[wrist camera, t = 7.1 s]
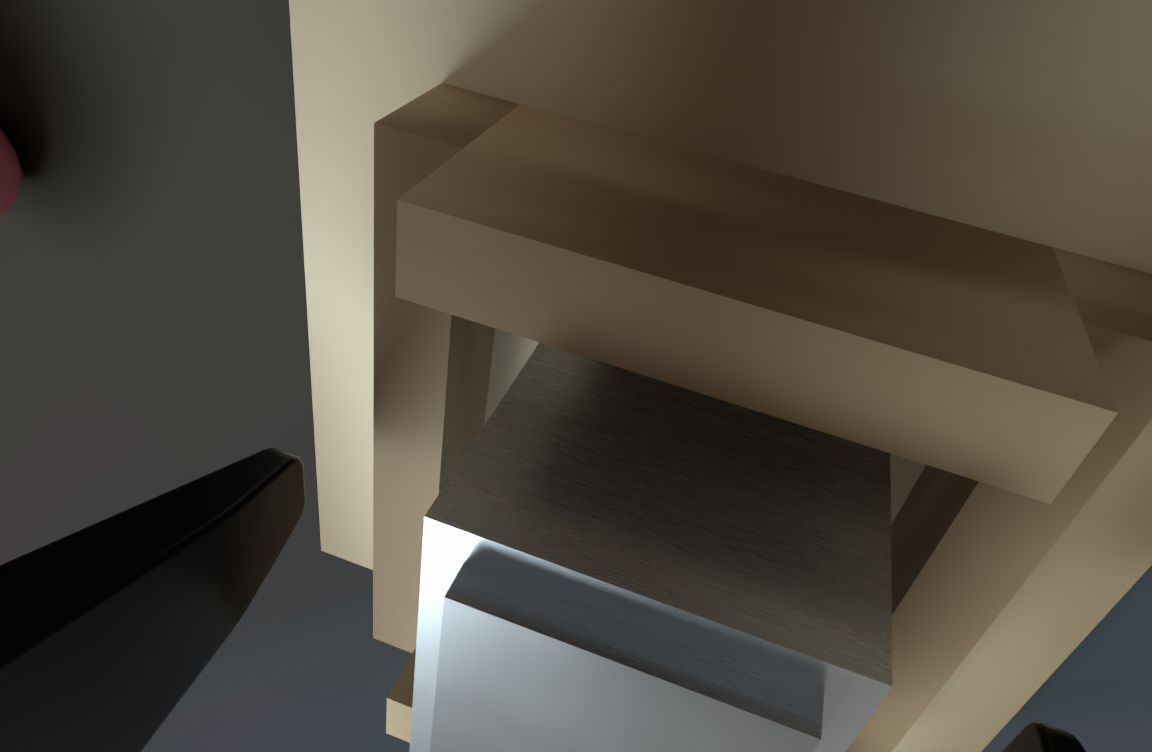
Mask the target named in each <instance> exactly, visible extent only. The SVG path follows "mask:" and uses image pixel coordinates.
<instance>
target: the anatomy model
mask: <svg viewBox="0 0 1152 752" xmlns="http://www.w3.org/2000/svg"><path fill="white" fill-rule="evenodd" d="M23 175H24V174H23V171H22V168H21V166H20V163H19V160H18V158H17V155H16V152H15V150H14V148H13V146H12V145H11V143H10V141H9V139H8V137H7V136H6V135H5V133H4V132H3V131H2V130H1V129H0V216H1V215H2V214H3V213H5V212H6V211H7V210H8V209H9V208H10V207H11V205H12V204H13V203H14V201H15V200H16V199H17V195H18V192H19V189H20V185H21V182H22V179H23Z"/></svg>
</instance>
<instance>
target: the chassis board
mask: <svg viewBox="0 0 1152 752" xmlns="http://www.w3.org/2000/svg"><path fill="white" fill-rule="evenodd" d="M289 9H290V26H291V43H292V60H293V77H294V94H295V111H296V128H297V145H298V162H299V179H300V196H301V213H302V230H303V247H304V264H305V281H306V299H307V316H308V333H309V350H310V367H311V384H312V401H313V418H314V435H315V452H316V469H317V486H318V503H319V520H320V537H321V551H324V552H326V553H329V554H332V555H334V556H337V557H340V558H342V559H345V560H348V561H350V562H353V563H356V564H358V565H361V566H364V567H366V568H369V569H372V570H373V638H375V639H377V640H380V641H382V642H385V643H388V644H390V645H393V646H395V647H398V648H400V649H403V650H406V651H408V652H411V653H412V655H411V656H410V658H409V660H408V662H407V664H406V665H405V667H404V669H403V671H402V672H401V674H400V676H399V678H398V679H397V681H396V683H395V685H394V686H393V688H392V690H391V692H390V694H389V695H388V697H387V720H386V733H387V734H390V735H392V736H395V737H397V738H400V739H402V740H404V741H407V742H409V743H410V736H411V720H412V704H413V688H414V672H415V656H416V640H417V624H418V608H419V592H420V576H421V560H422V544H423V528H424V516H425V515H426V513H427V512H428V510H429V508H430V507H431V505H432V504H433V502H434V501H435V499H436V498H437V496H438V495H439V493H440V492H441V490H442V489H443V487H444V486H445V484H446V483H447V481H448V480H449V478H450V477H451V475H452V474H453V472H454V471H455V469H456V468H457V466H458V465H459V463H460V462H461V460H462V459H463V457H464V456H465V454H466V453H467V451H468V450H469V448H470V447H471V445H472V444H473V442H474V440H475V439H476V437H477V436H478V434H479V433H480V431H481V430H482V428H483V427H484V425H485V424H486V422H487V421H488V419H489V418H490V416H491V415H492V413H493V412H494V410H495V409H496V407H497V406H498V404H499V403H500V401H501V400H502V398H503V397H504V395H505V394H506V392H507V391H508V389H509V388H510V386H511V385H512V383H513V382H514V380H515V379H516V377H517V376H518V374H519V372H520V371H521V369H522V368H523V366H524V365H525V363H526V362H527V360H528V359H529V357H530V356H531V354H532V353H533V351H534V350H535V348H536V347H537V345H538V344H539V342H540V343H543V344H546V345H549V346H553V347H556V348H559V349H562V350H565V351H568V352H572V353H575V354H578V355H581V356H584V357H587V358H590V359H594V360H597V361H600V362H603V363H606V364H609V365H613V366H616V367H619V368H622V369H625V370H628V371H632V372H635V373H638V374H641V375H644V376H647V377H651V378H654V379H657V380H660V381H663V382H666V383H670V384H673V385H676V386H679V387H682V388H685V389H688V390H692V391H695V392H698V393H701V394H704V395H707V396H711V397H714V398H717V399H720V400H723V401H726V402H730V403H733V404H736V405H739V406H742V407H745V408H749V409H752V410H755V411H758V412H761V413H764V414H768V415H771V416H774V417H777V418H780V419H783V420H787V421H790V422H793V423H796V424H799V425H802V426H805V427H809V428H812V429H815V430H818V431H821V432H824V433H828V434H831V435H834V436H837V437H840V438H843V439H847V440H850V441H853V442H856V443H859V444H862V445H866V446H869V447H872V448H875V449H878V450H881V451H885V452H888V453H890V475H891V582H892V688H891V689H890V691H889V692H888V693H887V695H886V696H885V698H884V699H883V700H882V702H881V703H880V705H879V706H878V707H877V709H876V710H875V711H874V713H873V714H872V716H871V717H870V718H869V720H868V721H867V723H866V724H865V725H864V727H863V728H862V730H861V731H860V732H859V734H858V735H857V736H856V738H855V739H854V741H853V742H852V743H851V745H850V746H849V748H848V749H847V750H846V752H981V751H982V750H983V749H984V748H985V747H986V746H987V745H988V744H989V742H990V741H991V740H992V739H993V738H994V737H995V736H996V735H997V734H998V733H999V731H1000V730H1001V729H1002V728H1003V727H1004V726H1005V725H1006V724H1007V723H1008V722H1009V721H1010V719H1011V718H1012V717H1013V716H1014V715H1015V714H1016V713H1017V712H1018V711H1019V710H1020V708H1021V707H1022V706H1023V705H1024V704H1025V703H1026V702H1027V701H1028V700H1029V699H1030V698H1031V696H1032V695H1033V694H1034V693H1035V692H1036V691H1037V690H1038V689H1039V688H1040V687H1041V686H1042V684H1043V683H1044V682H1045V681H1046V680H1047V679H1048V678H1049V677H1050V676H1051V675H1052V673H1053V672H1054V671H1055V670H1056V669H1057V668H1058V667H1059V666H1060V665H1061V664H1062V663H1063V661H1064V660H1065V659H1066V658H1067V657H1068V656H1069V655H1070V654H1071V653H1072V652H1073V650H1074V649H1075V648H1076V647H1077V646H1078V645H1079V644H1080V643H1081V642H1082V641H1083V640H1084V638H1085V637H1086V636H1087V635H1088V634H1089V633H1090V632H1091V631H1092V630H1093V629H1094V627H1095V626H1096V625H1097V624H1098V623H1099V622H1100V621H1101V620H1102V619H1103V618H1104V617H1105V615H1106V614H1107V613H1108V612H1109V611H1110V610H1111V609H1112V608H1113V607H1114V606H1115V605H1116V603H1117V602H1118V601H1119V600H1120V599H1121V598H1122V597H1123V596H1124V595H1125V594H1126V592H1127V591H1128V590H1129V589H1130V588H1131V587H1132V586H1133V585H1134V584H1135V583H1136V582H1137V580H1138V579H1139V578H1140V577H1141V576H1142V575H1143V574H1144V573H1145V572H1146V571H1147V569H1148V568H1149V567H1150V566H1151V565H1152V0H289Z"/></svg>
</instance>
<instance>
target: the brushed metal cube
mask: <svg viewBox="0 0 1152 752" xmlns="http://www.w3.org/2000/svg"><path fill="white" fill-rule="evenodd" d="M891 688H892V582H891V475H890V453H888V452H885V451H881V450H878V449H875V448H872V447H869V446H866V445H862V444H859V443H856V442H853V441H850V440H847V439H843V438H840V437H837V436H834V435H831V434H828V433H824V432H821V431H818V430H815V429H812V428H809V427H805V426H802V425H799V424H796V423H793V422H790V421H787V420H783V419H780V418H777V417H774V416H771V415H768V414H764V413H761V412H758V411H755V410H752V409H749V408H745V407H742V406H739V405H736V404H733V403H730V402H726V401H723V400H720V399H717V398H714V397H711V396H707V395H704V394H701V393H698V392H695V391H692V390H688V389H685V388H682V387H679V386H676V385H673V384H670V383H666V382H663V381H660V380H657V379H654V378H651V377H647V376H644V375H641V374H638V373H635V372H632V371H628V370H625V369H622V368H619V367H616V366H613V365H609V364H606V363H603V362H600V361H597V360H594V359H590V358H587V357H584V356H581V355H578V354H575V353H572V352H568V351H565V350H562V349H559V348H556V347H553V346H549V345H546V344H543V343H540V342H539V344H538V345H537V347H536V348H535V350H534V351H533V353H532V354H531V356H530V357H529V359H528V360H527V362H526V363H525V365H524V366H523V368H522V369H521V371H520V372H519V374H518V376H517V377H516V379H515V380H514V382H513V383H512V385H511V386H510V388H509V389H508V391H507V392H506V394H505V395H504V397H503V398H502V400H501V401H500V403H499V404H498V406H497V407H496V409H495V410H494V412H493V413H492V415H491V416H490V418H489V419H488V421H487V422H486V424H485V425H484V427H483V428H482V430H481V431H480V433H479V434H478V436H477V437H476V439H475V440H474V442H473V444H472V445H471V447H470V448H469V450H468V451H467V453H466V454H465V456H464V457H463V459H462V460H461V462H460V463H459V465H458V466H457V468H456V469H455V471H454V472H453V474H452V475H451V477H450V478H449V480H448V481H447V483H446V484H445V486H444V487H443V489H442V490H441V492H440V493H439V495H438V496H437V498H436V499H435V501H434V502H433V504H432V505H431V507H430V508H429V510H428V512H427V513H426V515H425V516H424V528H423V544H422V560H421V576H420V592H419V608H418V624H417V640H416V656H415V672H414V688H413V704H412V720H411V736H410V752H846V750H847V749H848V748H849V746H850V745H851V743H852V742H853V741H854V739H855V738H856V736H857V735H858V734H859V732H860V731H861V730H862V728H863V727H864V725H865V724H866V723H867V721H868V720H869V718H870V717H871V716H872V714H873V713H874V711H875V710H876V709H877V707H878V706H879V705H880V703H881V702H882V700H883V699H884V698H885V696H886V695H887V693H888V692H889V691H890V689H891Z"/></svg>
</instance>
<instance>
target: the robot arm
mask: <svg viewBox="0 0 1152 752" xmlns="http://www.w3.org/2000/svg"><path fill="white" fill-rule="evenodd" d="M305 502H306V497H305V483H304V470H303V462H302V461H301V459H300V458H299V457H298V456H296V455H293V454H290V453H288V452H285V451H282V450H279V449H276V448H269V449H265V450H262V451H260V452H258V453H256V454H253V455H251V456H249V457H246V458H244V459H242V460H240V461H237V462H235V463H233V464H230V465H228V466H226V467H224V468H221V469H219V470H217V471H214V472H212V473H210V474H208V475H205V476H203V477H201V478H198V479H196V480H194V481H192V482H189V483H187V484H185V485H182V486H180V487H178V488H176V489H173V490H171V491H169V492H166V493H164V494H162V495H160V496H157V497H155V498H153V499H150V500H148V501H146V502H144V503H141V504H139V505H137V506H134V507H132V508H130V509H128V510H125V511H123V512H121V513H118V514H116V515H114V516H112V517H109V518H107V519H105V520H102V521H100V522H98V523H96V524H93V525H91V526H89V527H86V528H84V529H82V530H80V531H77V532H75V533H73V534H70V535H68V536H66V537H64V538H61V539H59V540H57V541H54V542H52V543H50V544H48V545H45V546H43V547H41V548H38V549H36V550H34V551H32V552H29V553H27V554H25V555H22V556H20V557H18V558H16V559H13V560H11V561H9V562H6V563H4V564H2V565H0V752H141V751H142V750H143V748H144V747H145V746H146V744H147V743H148V742H149V740H150V739H151V738H152V736H153V735H154V734H155V732H156V731H157V730H158V728H159V727H160V726H161V724H162V723H163V722H164V720H165V719H166V718H167V717H168V715H169V714H170V713H171V711H172V710H173V709H174V707H175V706H176V705H177V703H178V702H179V701H180V699H181V698H182V697H183V695H184V694H185V693H186V691H187V690H188V689H189V687H190V686H191V685H192V683H193V682H194V681H195V679H196V678H197V677H198V675H199V674H200V673H201V671H202V670H203V669H204V667H205V666H206V665H207V663H208V662H209V661H210V659H211V658H212V657H213V655H214V654H215V653H216V651H217V650H218V649H219V647H220V646H221V645H222V643H223V642H224V641H225V639H226V638H227V637H228V635H229V634H230V633H231V631H232V630H233V628H234V627H235V626H236V624H237V623H238V621H239V620H240V618H241V617H242V615H243V614H244V612H245V611H246V609H247V607H248V606H249V604H250V603H251V601H252V599H253V598H254V596H255V594H256V593H257V591H258V589H259V588H260V586H261V584H262V583H263V581H264V579H265V578H266V576H267V574H268V572H269V571H270V569H271V567H272V566H273V564H274V562H275V561H276V559H277V557H278V556H279V554H280V552H281V551H282V549H283V547H284V546H285V544H286V542H287V541H288V539H289V537H290V536H291V534H292V532H293V531H294V529H295V527H296V525H297V524H298V522H299V520H300V519H301V516H302V514H303V512H304V508H305ZM1002 752H1086V751H1085V749H1084V748H1083V746H1082V745H1081V743H1080V742H1079V741H1078V740H1077V739H1076V737H1075V736H1073V735H1072V734H1070V733H1068V732H1066V731H1064V730H1061V729H1058V728H1055V727H1052V726H1050V725H1047V724H1044V723H1041V722H1033V723H1029V724H1028V725H1027V726H1026V727H1025V728H1024V729H1023V730H1022V731H1021V732H1020V733H1019V734H1018V735H1017V736H1016V737H1015V738H1014V739H1013V740H1012V741H1011V742H1010V744H1009V745H1008V746H1007V747H1006V748H1005V749H1004V750H1003V751H1002Z"/></svg>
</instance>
